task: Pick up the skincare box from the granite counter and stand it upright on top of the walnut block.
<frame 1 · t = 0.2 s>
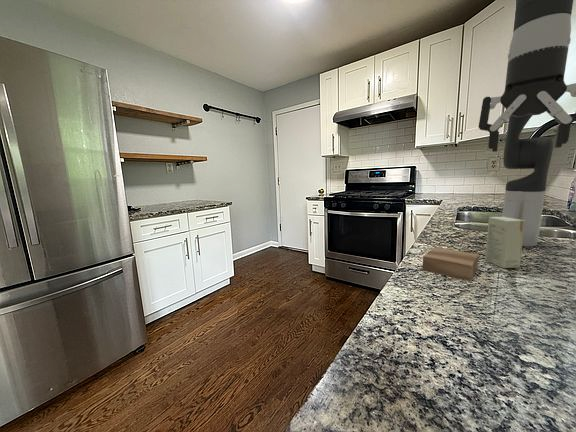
hand: (524, 149, 46), 28 cm above the countertop, fingers open, 8 cm apart
walnut block: (449, 270, 63), on the countertop
skincare box: (500, 264, 65), on the countertop
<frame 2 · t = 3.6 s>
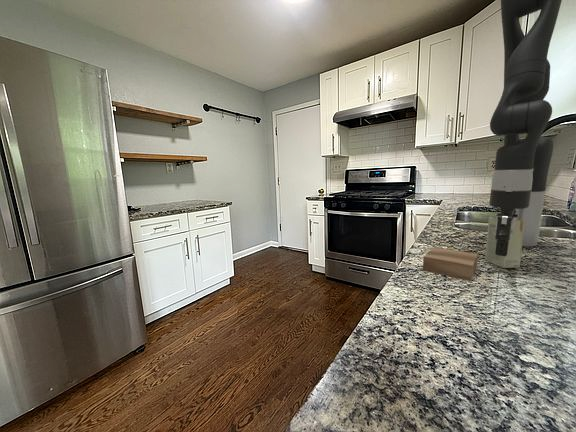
hand: (502, 251, 65), 3 cm above the countertop, fingers closed on skincare box, 7 cm apart
skincare box: (500, 264, 65), on the countertop, touching gripper
everything else where it was.
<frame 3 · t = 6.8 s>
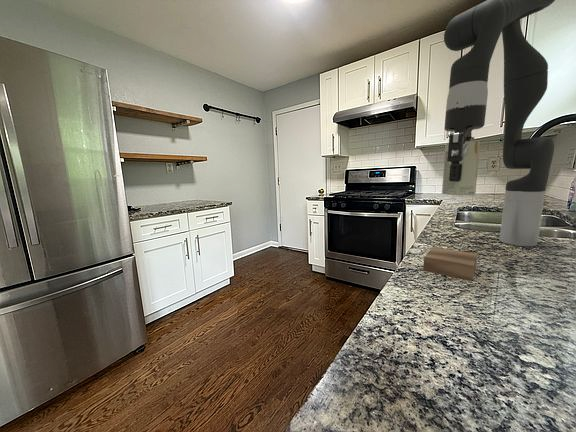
hand: (458, 180, 59), 22 cm above the countertop, fingers closed on skincare box, 7 cm apart
skincare box: (457, 195, 60), point 19 cm above the countertop, touching gripper
everything else where it was.
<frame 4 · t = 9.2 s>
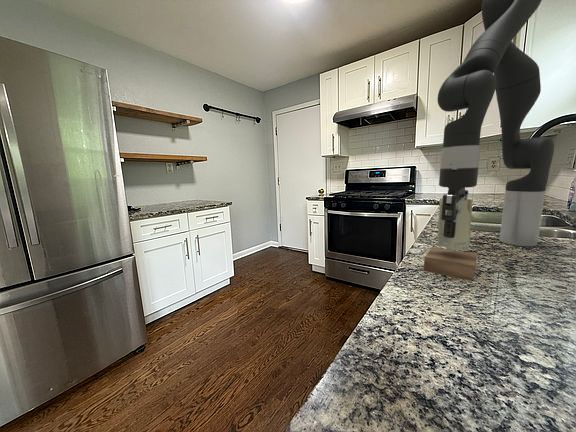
hand: (452, 233, 62), 9 cm above the countertop, fingers closed on skincare box, 7 cm apart
skincare box: (451, 247, 62), point 6 cm above the countertop, touching gripper
everything else where it was.
when the fingers open (9 cm above the countertop, at t = 10.4 s): skincare box drops 2 cm, point 3 cm above the countertop.
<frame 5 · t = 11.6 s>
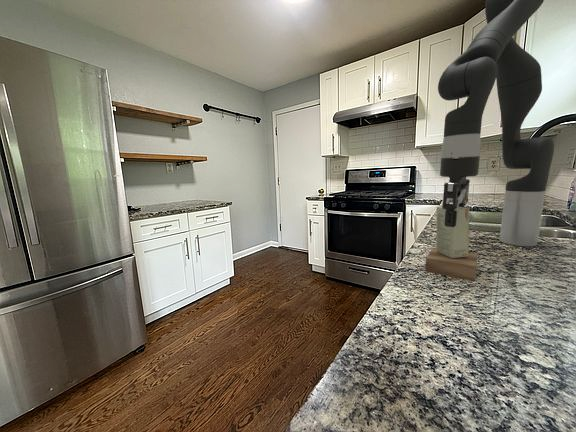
hand: (454, 223, 61), 12 cm above the countertop, fingers open, 8 cm apart
skincare box: (451, 254, 64), point 3 cm above the countertop
everything else where it was.
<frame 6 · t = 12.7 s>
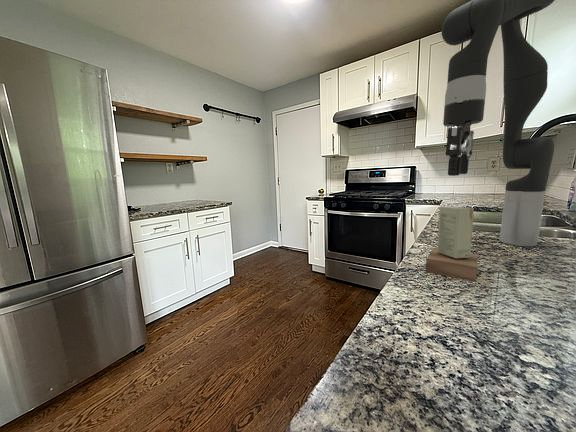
hand: (457, 174, 59), 24 cm above the countertop, fingers open, 8 cm apart
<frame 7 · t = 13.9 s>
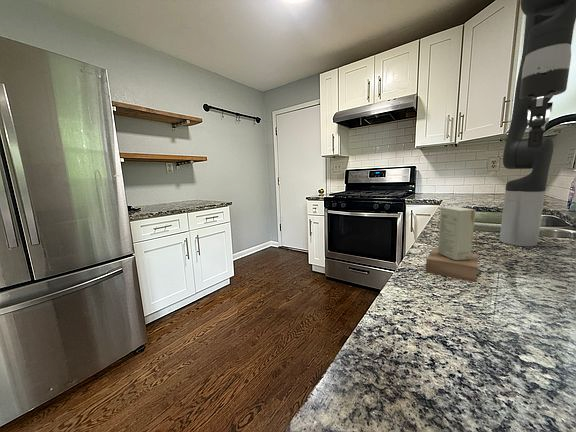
hand: (534, 147, 59), 29 cm above the countertop, fingers open, 8 cm apart
walnut block: (451, 271, 63), on the countertop, touching skincare box
skincare box: (452, 256, 62), point 3 cm above the countertop, touching walnut block
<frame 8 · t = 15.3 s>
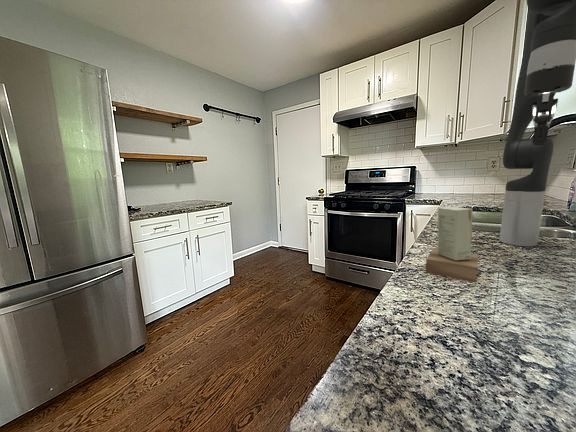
hand: (539, 144, 58), 30 cm above the countertop, fingers open, 8 cm apart
walnut block: (451, 272, 62), on the countertop
skincare box: (452, 257, 62), point 3 cm above the countertop
at the end: skincare box 0.2 cm off-centre on the walnut block, point 4.0 cm above the walnut block's base; skincare box tilted 4°; the gripper is holding nothing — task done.
